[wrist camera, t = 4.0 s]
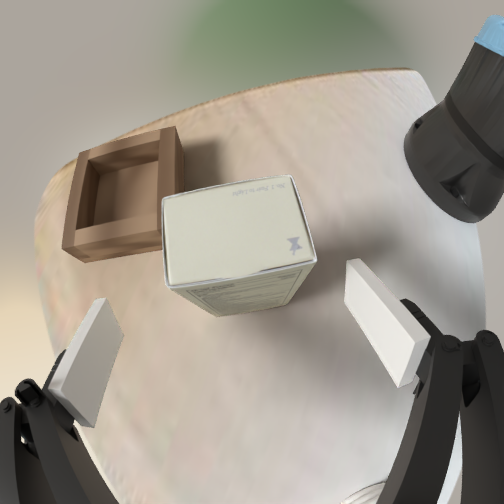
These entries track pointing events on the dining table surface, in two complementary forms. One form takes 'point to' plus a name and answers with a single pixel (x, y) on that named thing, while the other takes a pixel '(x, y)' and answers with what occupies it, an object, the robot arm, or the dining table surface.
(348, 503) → the white round piece
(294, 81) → the dining table surface
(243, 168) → the dining table surface
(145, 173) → the holder
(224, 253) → the skincare box
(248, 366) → the dining table surface
